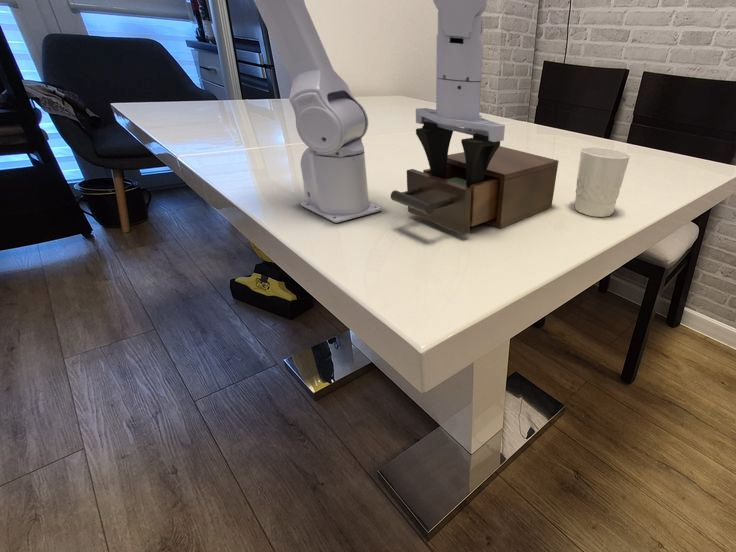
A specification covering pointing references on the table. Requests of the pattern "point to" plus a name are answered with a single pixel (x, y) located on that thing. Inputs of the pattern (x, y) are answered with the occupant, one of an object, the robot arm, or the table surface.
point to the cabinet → (518, 183)
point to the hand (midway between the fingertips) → (455, 184)
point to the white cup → (599, 180)
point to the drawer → (450, 198)
